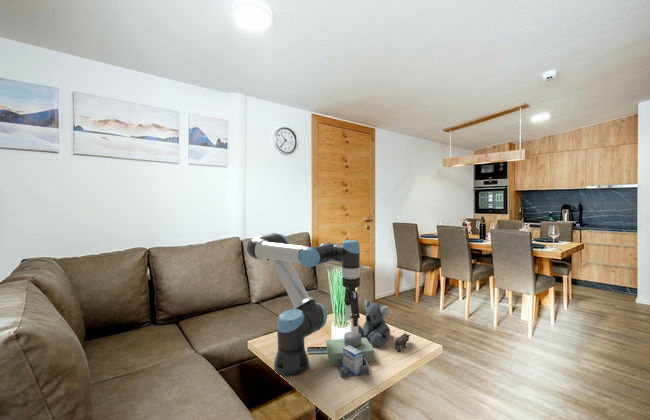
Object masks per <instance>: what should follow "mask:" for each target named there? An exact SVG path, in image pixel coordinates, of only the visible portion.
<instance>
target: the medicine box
mask: <svg viewBox="0 0 650 420" xmlns="http://www.w3.org/2000/svg"><path fill="white" fill-rule="evenodd" d="M361 366H363V356H362V351H360V350H358V349H356V348H354V347H352V346H350V345H349V346H346V347H344V348H343V368H344V367H348V371H350V372H351V373H353V374H355V375H357V374H359V373H360V372H361Z"/></svg>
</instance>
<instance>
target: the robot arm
mask: <svg viewBox="0 0 650 420" xmlns="http://www.w3.org/2000/svg"><path fill="white" fill-rule="evenodd" d="M360 247H361V246H360V241H358V240H354V239H353V240H352V239H346V240H343V241H342V243H341V244H339V243H331V242H323V243H321V244H320V245H318V246H309V245H298V244H290V242H289V240H288V238H287V237H286V236H285V234H282V233H277V232H276V233H275V232H273V233H270V234H269V233H268V234H260V235H255V236H253V237H252V238H250V239H249V240H248V242H247V244H246V252H247V254H248V255H249V257H251V258H252V259H255V260H261V261H262V260H267V263H268V264H272V265H273V267H274V269H275V271H276V273H277V276H278V277H279V279H280V281H281V284H282V285H283V287H284V289H285V291H286V293H287V295H288V297H289V299H290V301H291V303H292V305H293V308H292V309H287V310H285V311H283V312H282V313H280V314H279V316H278V317H277V324H276V328H277V330H276V333H277V352H276V355H275V358H274V361H273V368H274V369H273V370H274V371H275V372H276V373H277V374H278V375H280V376H284V377H285V376H286V377H291V376H297V375H300V374H302V373H305V372H306V371H307V370H308V369H309V366H310V365H309V357H308V354H307V352H306V347H305V338H307V337H308V336H310V335H312V334H313V333H315V332H318V331H320V330H321V329H323V328H324V326H325V325H326V324H327V320H328V313H327V310H326V308H325V306H324V305H323V304H321V303H319V302H317V301H316V300H315V298H313V297H310V295H309V294H308V292H307V290H306V288H305V285H304V284H303V282H302V280H301V278H300V276H299V275H298V273H297V271H296V268H295V267H294V265H293V263H294V264H300V265H301V266H303V267H304V268H312V267H313V268H314V267H316V266H318V265H322V264H326V263H328V262H339V263H341V275H342V278H341V280H342V287H344V299H343V302H344V305H345V306H344V315H345V316H344V317H345V318H344V319H345V321H351V322H350V323H351V331H350V332H352V334H356V333H358V325H359V319H360V318H361V316H360V308H359V307H360V306H359V297H358V296H359V293H358V292H357V290H356V288H359V287H360V286H361V278H360V276H361V273H360V272H361V271H362V268H361V266H360V264H361V263H360V261H361V257H360V255H361V248H360Z"/></svg>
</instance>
